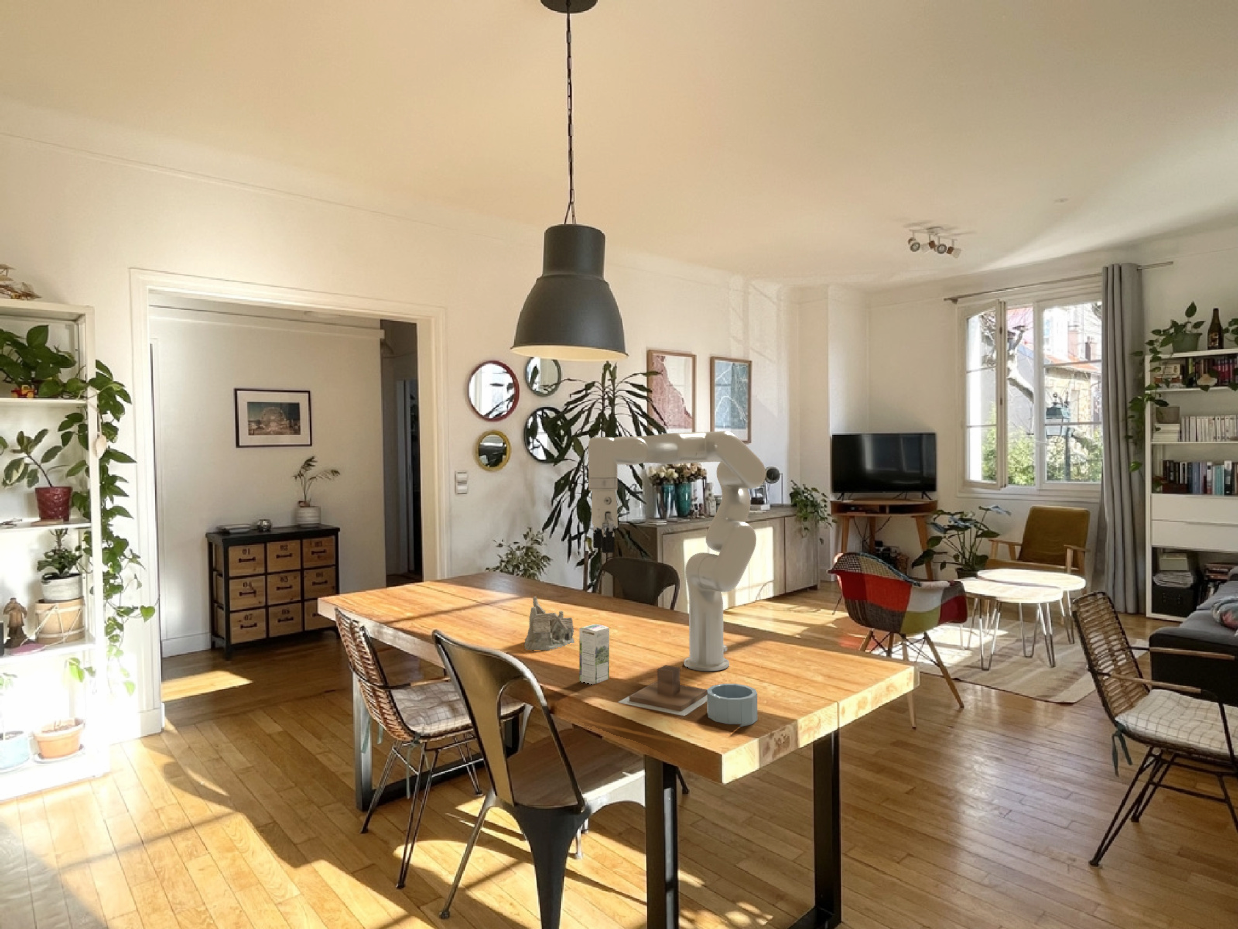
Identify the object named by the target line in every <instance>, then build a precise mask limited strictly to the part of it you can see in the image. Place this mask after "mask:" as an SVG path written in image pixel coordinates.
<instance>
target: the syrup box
mask: <svg viewBox="0 0 1238 929" xmlns="http://www.w3.org/2000/svg"><path fill="white" fill-rule="evenodd" d="M578 629H579V630H578V632H579V633H578V634H579V638H578V640H579V642H578V643H579V649H578V650H579V652H578V653H579V656H578V657H579V660H578V662H579V664H578V665H579V666H578V670H579V673H578V674H579V680H578V681H579V682H580V681H581V682H580V683H583V682H585V683H584V684H587V683H589V684H588V685H591V684H592V685H594V684H595V685H597V684H598V683H602V682H605V681H606V680H609V679H610V627H608V626H606V625H603V624H599V623H598V624H597V623H596V624H595V623H594V624H593V623H592V624H590V625H586V626H583V627H580V628H578Z"/></svg>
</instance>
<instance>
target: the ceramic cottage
mask: <svg viewBox="0 0 1238 929" xmlns="http://www.w3.org/2000/svg"><path fill="white" fill-rule="evenodd" d="M532 600H533V601H532V605H533V606H532V607H530V613H529V618H528V619H529V621H528V623H529V625H528V626H529V627H528V630H527V635H526V638H525V639H524V650H526V649H527V650H526V651H528V650H546V651H551V650H550V649H553V650H555V649H554V648H556V649H558V648H557V647H560V648H563V647H562V646H564V647H566V646H565V645H567V644H570V643H573V644H574V643H575V639H574V637H573V636H574V633H575V628H574V627H575V626H574V623H573V621H574V620H573V617H564V611H563V610H559V611H558V614H557V613H556V612H546V610H545V609H543V607H542V606H541V605H540V604H539V601H538V598H537V596H533V598H532ZM567 646H568V645H567Z"/></svg>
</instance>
